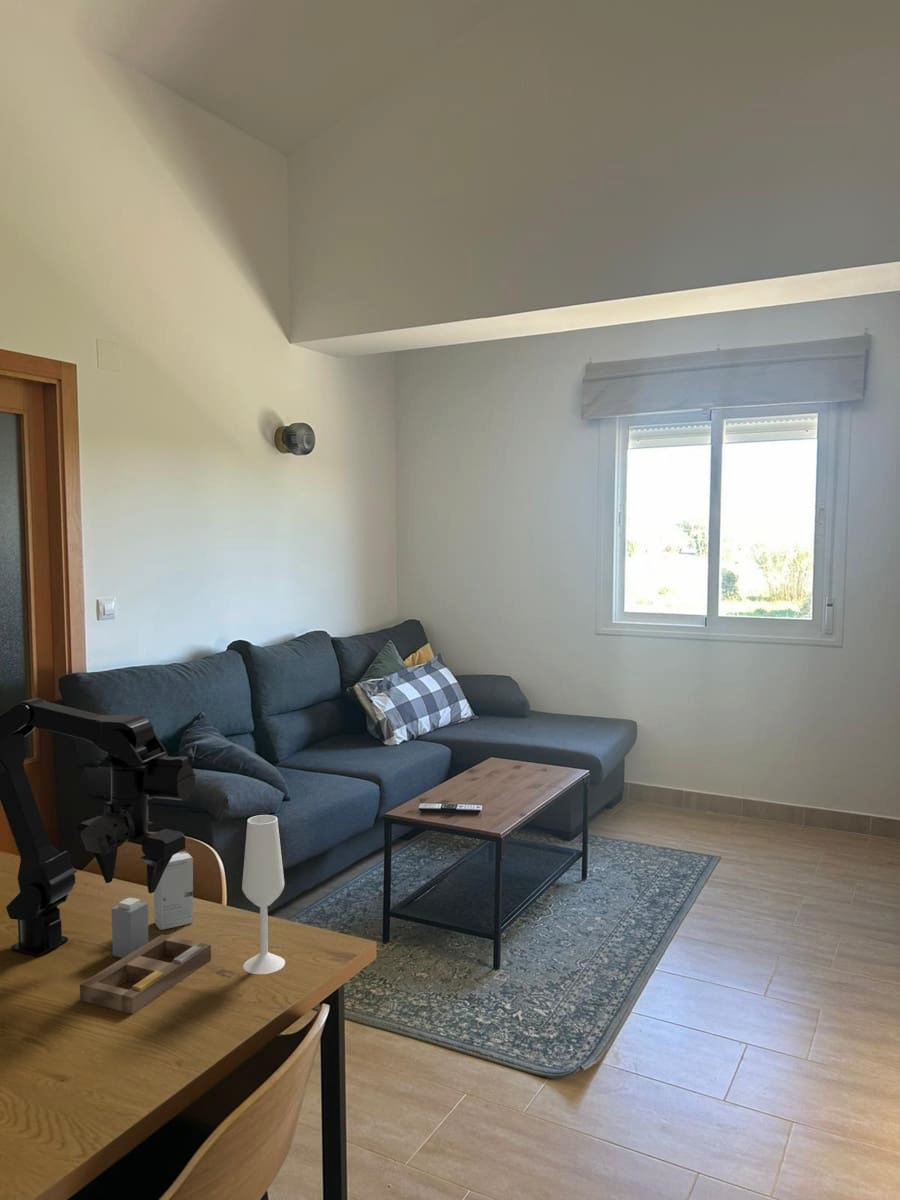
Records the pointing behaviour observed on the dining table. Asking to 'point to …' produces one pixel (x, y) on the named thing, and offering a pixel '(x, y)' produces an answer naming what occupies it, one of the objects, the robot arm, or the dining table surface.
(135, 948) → the plug
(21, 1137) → the dining table surface
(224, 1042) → the dining table surface
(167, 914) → the skincare box
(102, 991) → the brown wooden flat frame
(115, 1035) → the dining table surface
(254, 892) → the champagne flute
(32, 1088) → the dining table surface
